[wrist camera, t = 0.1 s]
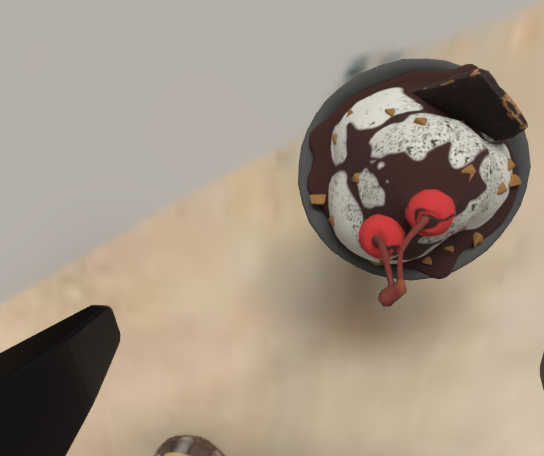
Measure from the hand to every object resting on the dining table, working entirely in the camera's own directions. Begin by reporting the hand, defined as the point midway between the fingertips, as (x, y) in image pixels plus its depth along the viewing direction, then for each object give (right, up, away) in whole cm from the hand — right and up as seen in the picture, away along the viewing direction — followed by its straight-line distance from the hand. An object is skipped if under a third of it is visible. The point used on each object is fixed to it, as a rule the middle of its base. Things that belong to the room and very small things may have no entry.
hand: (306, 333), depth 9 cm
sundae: (+6, +6, +14) cm, 16 cm away
